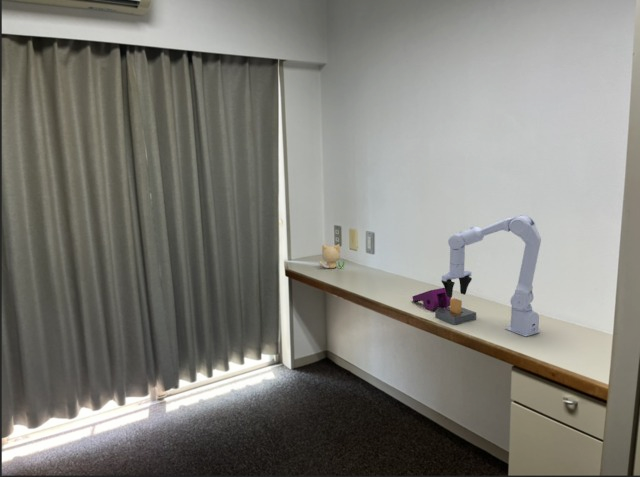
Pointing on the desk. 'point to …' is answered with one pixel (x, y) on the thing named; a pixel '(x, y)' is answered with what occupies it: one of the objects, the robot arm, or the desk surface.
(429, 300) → the mounting bracket
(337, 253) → the kitten
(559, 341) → the desk surface
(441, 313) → the grey slotted square block
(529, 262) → the robot arm
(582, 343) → the desk surface
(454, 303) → the orange-brown rectangular block
